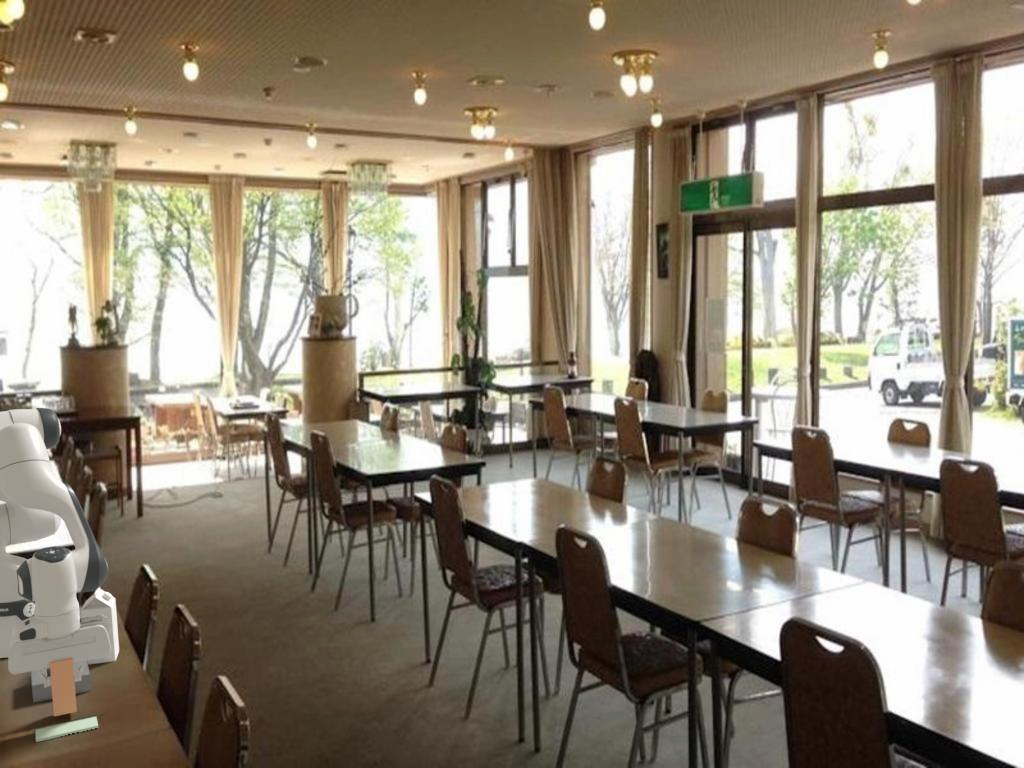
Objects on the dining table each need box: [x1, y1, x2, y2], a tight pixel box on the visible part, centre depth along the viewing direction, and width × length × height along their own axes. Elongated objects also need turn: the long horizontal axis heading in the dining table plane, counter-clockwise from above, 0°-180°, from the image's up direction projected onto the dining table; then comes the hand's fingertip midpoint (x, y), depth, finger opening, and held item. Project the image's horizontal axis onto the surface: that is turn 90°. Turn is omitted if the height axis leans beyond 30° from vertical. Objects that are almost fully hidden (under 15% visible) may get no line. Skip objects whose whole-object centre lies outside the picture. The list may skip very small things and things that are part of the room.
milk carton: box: [80, 586, 120, 665], centre depth 234 cm, size 7×7×19 cm
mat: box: [34, 714, 99, 743], centre depth 203 cm, size 16×12×1 cm
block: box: [50, 658, 78, 717], centre depth 202 cm, size 4×4×12 cm
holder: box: [30, 660, 92, 704], centre depth 218 cm, size 12×12×5 cm
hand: (62, 683), depth 202 cm, fingers closed on block, 4 cm apart
